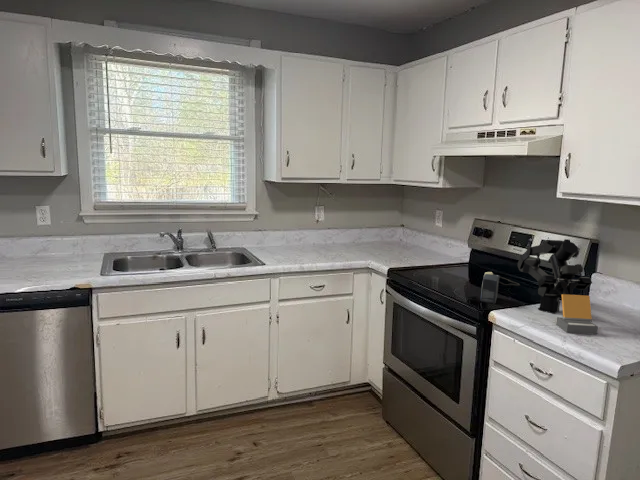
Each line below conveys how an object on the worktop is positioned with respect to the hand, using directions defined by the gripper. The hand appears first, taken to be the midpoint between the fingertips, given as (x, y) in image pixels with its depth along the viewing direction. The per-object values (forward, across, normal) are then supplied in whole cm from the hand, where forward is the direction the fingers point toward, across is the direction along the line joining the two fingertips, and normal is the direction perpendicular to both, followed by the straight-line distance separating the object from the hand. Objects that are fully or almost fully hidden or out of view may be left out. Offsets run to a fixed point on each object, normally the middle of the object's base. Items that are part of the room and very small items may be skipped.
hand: (570, 301), depth 177 cm
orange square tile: (+8, 0, -2) cm, 8 cm away
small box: (-12, -21, +25) cm, 35 cm away
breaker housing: (+11, 0, +1) cm, 11 cm away
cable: (-36, -4, +50) cm, 62 cm away
